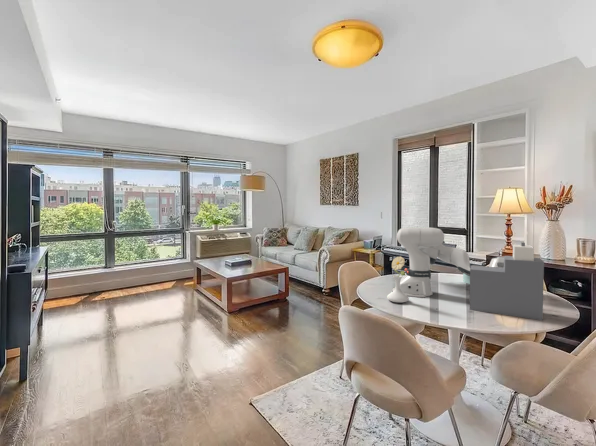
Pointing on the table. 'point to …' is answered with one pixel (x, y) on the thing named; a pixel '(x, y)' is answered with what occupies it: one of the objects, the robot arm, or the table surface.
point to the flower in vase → (398, 282)
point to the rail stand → (509, 288)
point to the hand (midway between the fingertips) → (520, 257)
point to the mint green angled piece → (466, 278)
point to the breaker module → (523, 252)
